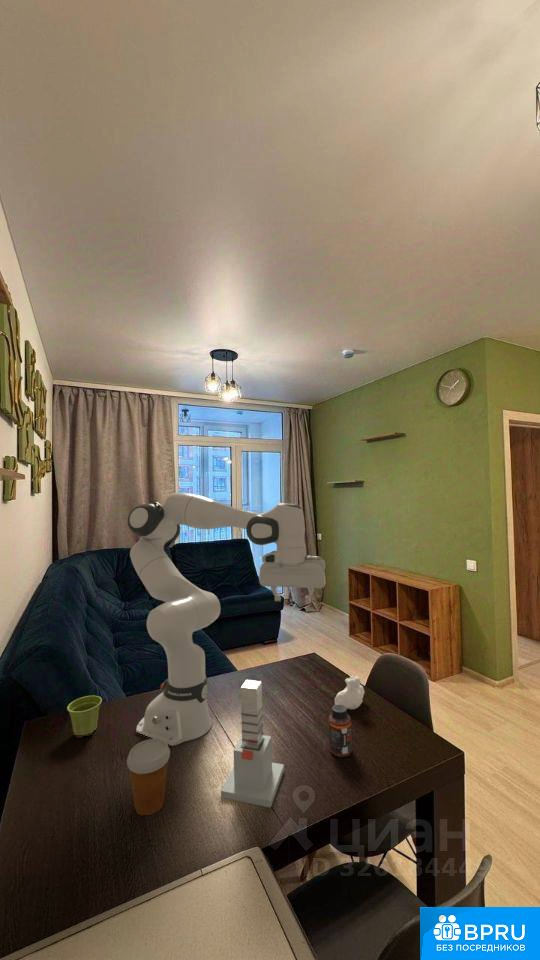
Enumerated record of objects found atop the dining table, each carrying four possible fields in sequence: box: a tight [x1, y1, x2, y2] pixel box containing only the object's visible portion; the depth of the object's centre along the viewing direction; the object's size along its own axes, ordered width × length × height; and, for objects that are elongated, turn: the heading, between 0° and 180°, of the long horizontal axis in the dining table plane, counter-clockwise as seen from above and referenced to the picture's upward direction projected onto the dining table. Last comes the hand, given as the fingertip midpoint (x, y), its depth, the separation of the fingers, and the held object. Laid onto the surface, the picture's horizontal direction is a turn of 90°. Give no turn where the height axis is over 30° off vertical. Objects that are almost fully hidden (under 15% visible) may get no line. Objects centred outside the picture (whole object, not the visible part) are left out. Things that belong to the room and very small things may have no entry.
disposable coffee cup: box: [126, 738, 171, 816], centre depth 88 cm, size 10×10×12 cm
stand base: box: [220, 734, 285, 808], centre depth 94 cm, size 12×12×10 cm
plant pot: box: [66, 695, 103, 735], centre depth 116 cm, size 9×9×9 cm
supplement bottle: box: [328, 704, 353, 758], centre depth 105 cm, size 6×6×11 cm
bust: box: [334, 674, 365, 710], centre depth 126 cm, size 12×8×11 cm
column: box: [240, 679, 264, 751], centre depth 94 cm, size 4×4×16 cm
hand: (292, 601), depth 118 cm, fingers open, 8 cm apart
